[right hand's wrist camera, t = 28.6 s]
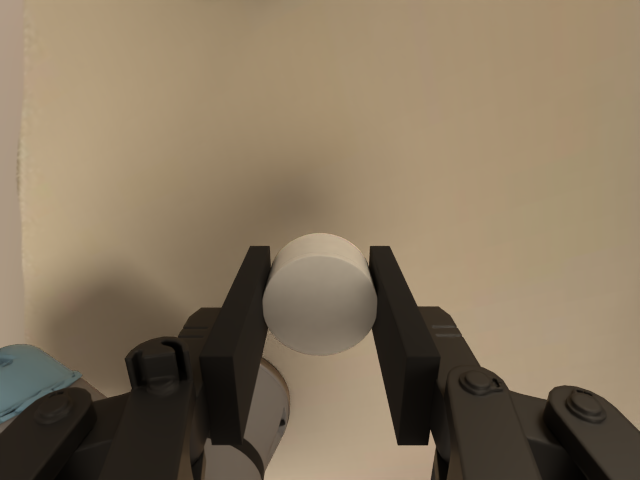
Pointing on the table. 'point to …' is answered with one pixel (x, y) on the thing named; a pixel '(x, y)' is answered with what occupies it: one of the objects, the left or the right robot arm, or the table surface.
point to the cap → (320, 295)
